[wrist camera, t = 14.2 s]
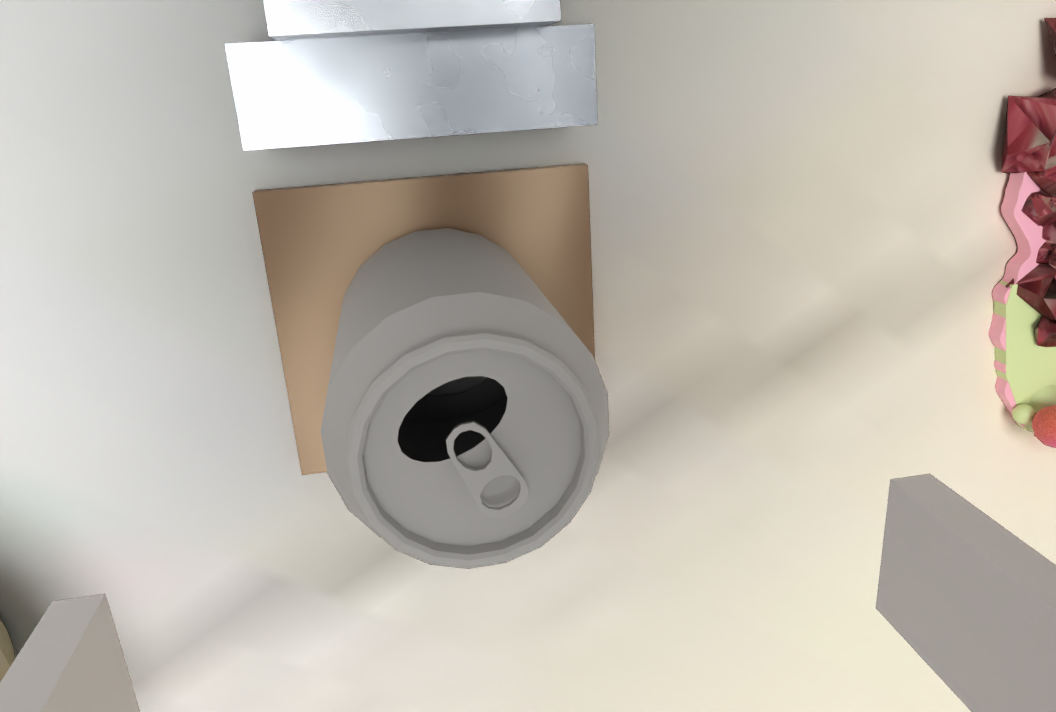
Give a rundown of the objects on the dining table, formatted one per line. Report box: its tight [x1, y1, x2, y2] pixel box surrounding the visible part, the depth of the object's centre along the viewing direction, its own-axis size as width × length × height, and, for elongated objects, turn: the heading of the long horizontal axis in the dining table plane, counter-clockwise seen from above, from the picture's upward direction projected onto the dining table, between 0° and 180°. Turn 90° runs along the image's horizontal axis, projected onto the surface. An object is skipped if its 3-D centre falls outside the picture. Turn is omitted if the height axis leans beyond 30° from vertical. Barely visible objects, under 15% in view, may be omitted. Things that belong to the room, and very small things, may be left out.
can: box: [320, 228, 609, 569], centre depth 24 cm, size 8×8×12 cm
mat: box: [252, 164, 595, 475], centre depth 30 cm, size 12×11×1 cm
